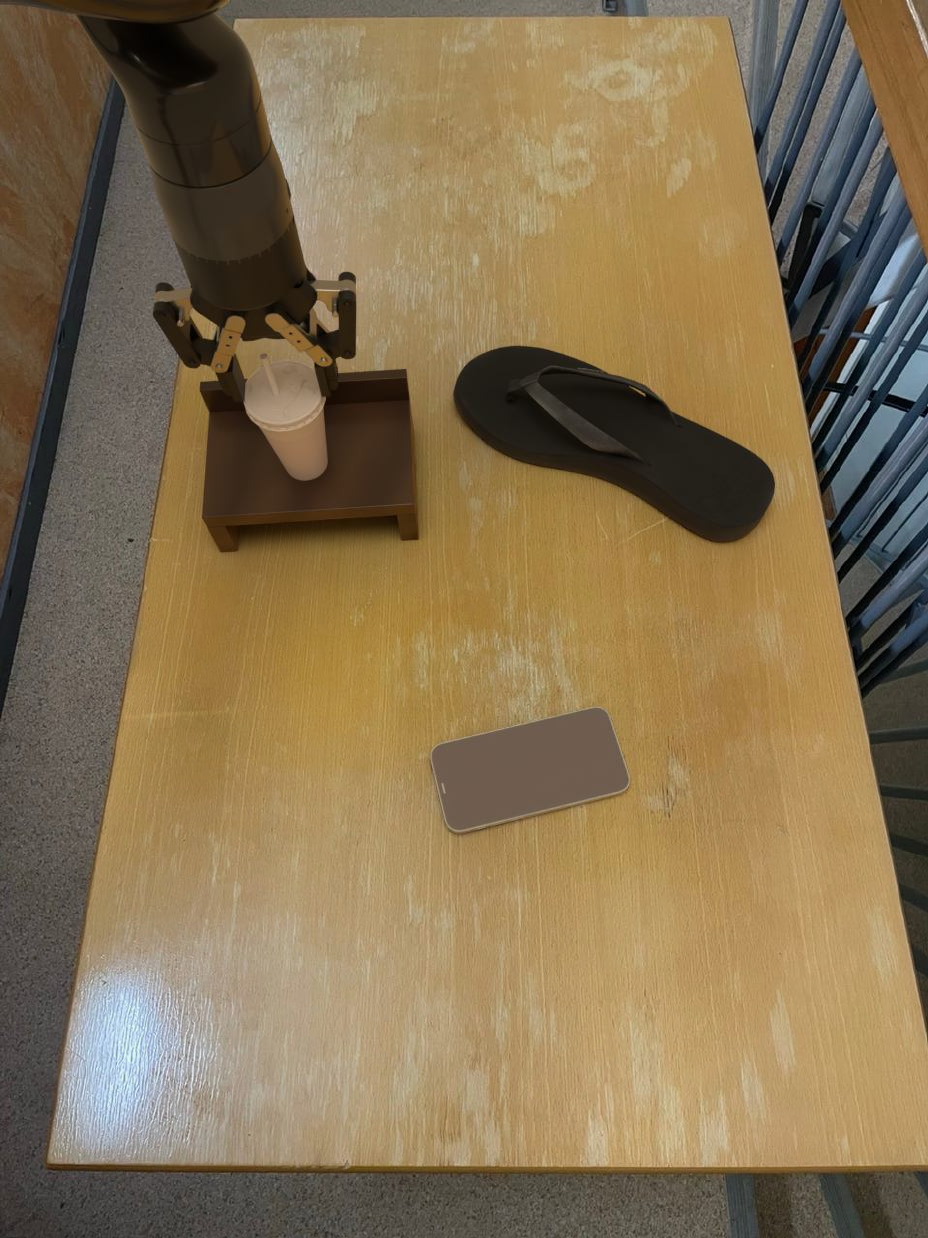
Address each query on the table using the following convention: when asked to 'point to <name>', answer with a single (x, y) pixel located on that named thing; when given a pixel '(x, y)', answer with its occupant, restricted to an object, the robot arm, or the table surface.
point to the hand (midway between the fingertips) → (283, 389)
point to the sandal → (613, 437)
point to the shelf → (355, 474)
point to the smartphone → (528, 769)
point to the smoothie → (290, 414)
